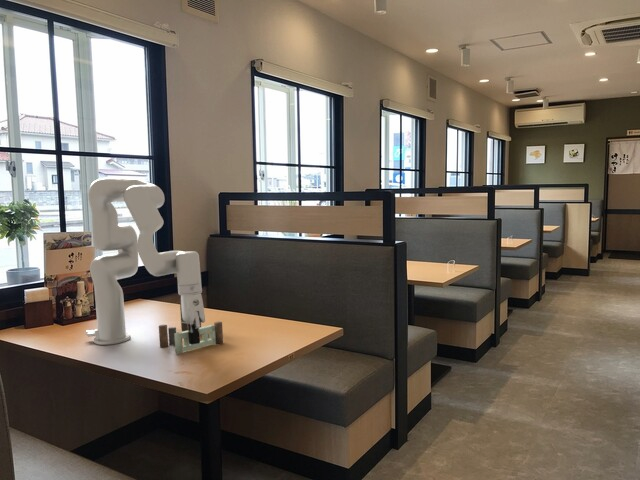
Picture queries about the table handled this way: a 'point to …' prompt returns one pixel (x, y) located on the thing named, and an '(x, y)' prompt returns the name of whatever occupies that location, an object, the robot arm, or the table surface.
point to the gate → (186, 347)
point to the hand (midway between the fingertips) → (194, 343)
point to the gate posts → (164, 335)
